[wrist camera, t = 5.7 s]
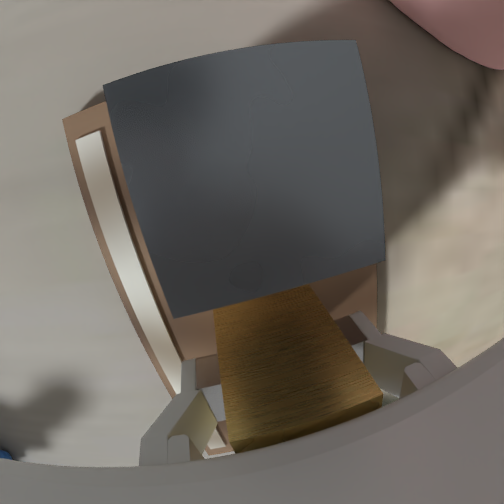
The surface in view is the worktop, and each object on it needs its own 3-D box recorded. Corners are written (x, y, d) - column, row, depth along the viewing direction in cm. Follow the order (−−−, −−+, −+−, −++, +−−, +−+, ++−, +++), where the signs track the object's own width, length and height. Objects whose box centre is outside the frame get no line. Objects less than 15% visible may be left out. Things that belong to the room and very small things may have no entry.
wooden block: (211, 292, 12) (229, 442, 6) (298, 269, 12) (383, 393, 6) (233, 357, 13) (260, 494, 7) (308, 336, 13) (371, 459, 7)
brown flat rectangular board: (72, 120, 10) (60, 119, 9) (338, 59, 11) (350, 53, 9) (207, 443, 18) (209, 457, 16) (364, 399, 18) (371, 410, 17)
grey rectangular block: (163, 116, 10) (103, 85, 3) (261, 94, 10) (355, 40, 3) (188, 210, 11) (174, 319, 5) (281, 186, 11) (385, 259, 5)
